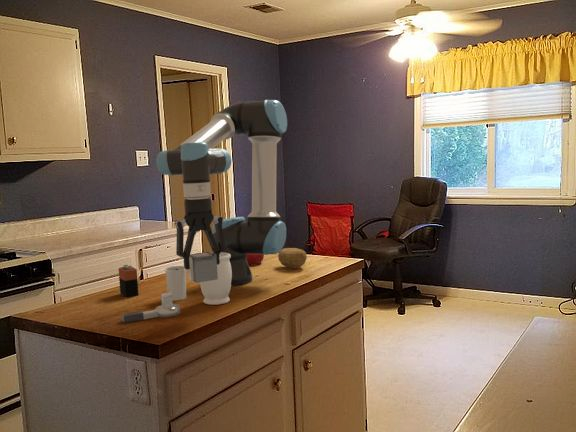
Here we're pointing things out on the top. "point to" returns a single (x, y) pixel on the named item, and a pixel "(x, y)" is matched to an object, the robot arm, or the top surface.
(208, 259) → the grey rounded cube
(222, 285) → the jar
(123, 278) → the battery
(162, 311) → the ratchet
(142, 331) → the top surface
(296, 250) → the potato
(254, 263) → the pomegranate
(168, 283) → the white pillar candle
